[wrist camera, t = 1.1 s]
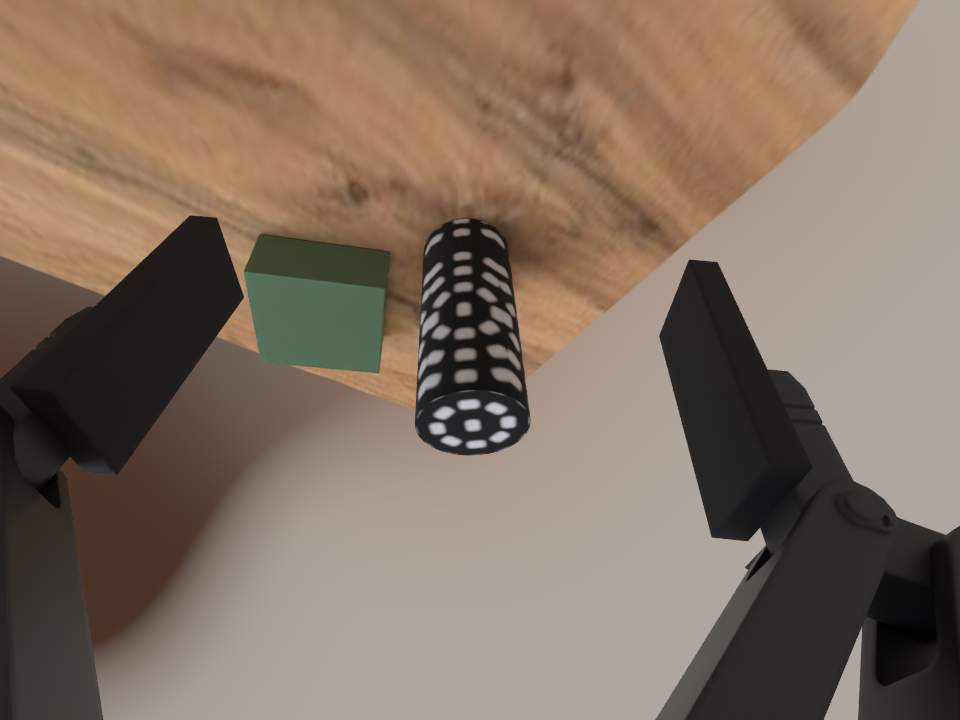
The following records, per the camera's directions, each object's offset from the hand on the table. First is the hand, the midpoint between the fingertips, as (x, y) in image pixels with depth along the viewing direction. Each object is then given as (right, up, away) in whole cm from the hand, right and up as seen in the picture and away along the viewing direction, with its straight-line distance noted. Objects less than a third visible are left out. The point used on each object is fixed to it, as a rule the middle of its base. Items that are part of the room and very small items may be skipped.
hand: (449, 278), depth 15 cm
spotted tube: (0, +8, +35) cm, 36 cm away
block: (-15, +5, +38) cm, 41 cm away
